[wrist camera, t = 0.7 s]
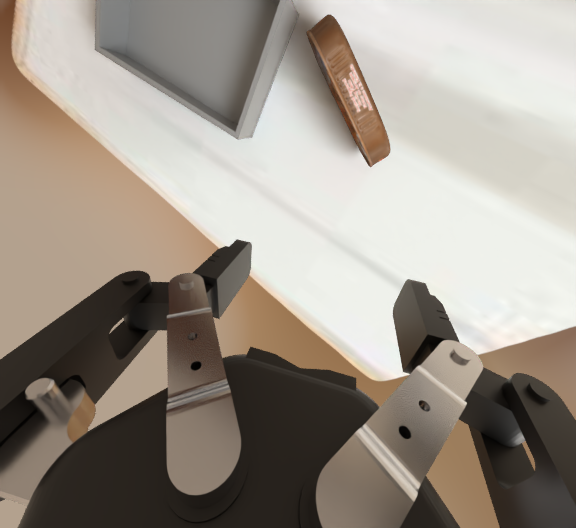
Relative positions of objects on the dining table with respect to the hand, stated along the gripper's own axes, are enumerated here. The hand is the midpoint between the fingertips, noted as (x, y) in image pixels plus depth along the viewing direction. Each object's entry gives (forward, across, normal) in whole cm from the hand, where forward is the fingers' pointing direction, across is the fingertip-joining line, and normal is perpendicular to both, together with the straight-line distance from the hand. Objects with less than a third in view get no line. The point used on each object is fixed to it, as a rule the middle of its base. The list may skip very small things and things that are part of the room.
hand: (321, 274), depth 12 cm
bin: (+26, +21, -13) cm, 36 cm away
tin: (+27, +1, -9) cm, 28 cm away
